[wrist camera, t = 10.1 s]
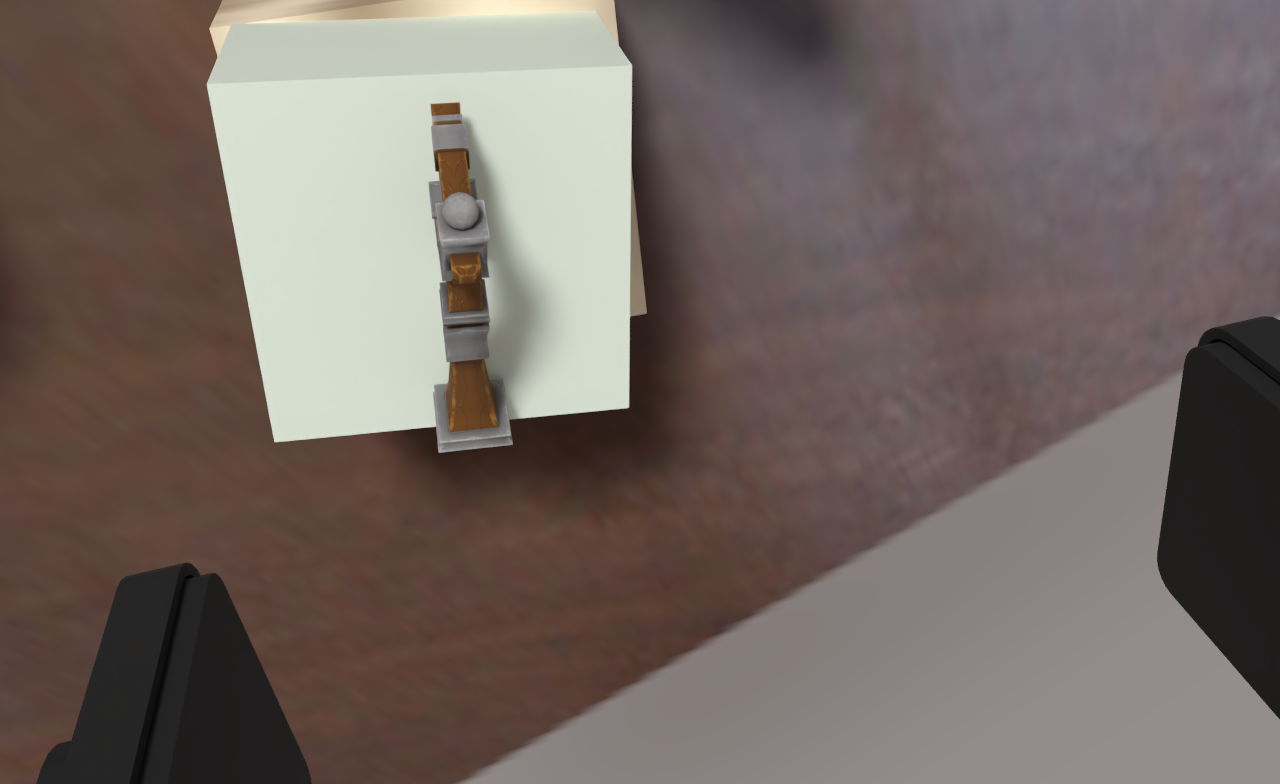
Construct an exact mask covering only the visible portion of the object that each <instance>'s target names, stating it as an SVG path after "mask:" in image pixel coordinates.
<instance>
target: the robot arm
mask: <svg viewBox="0 0 1280 784" xmlns="http://www.w3.org/2000/svg"><path fill="white" fill-rule="evenodd" d="M1157 562H1158V568H1159V572H1160V575H1161V578H1162V580H1163V582H1164V584H1165V586H1166V587H1167V589H1168V590H1169V592H1170V593H1171V594H1172V595H1173V596H1174V598H1175V599H1176V600H1177V601H1178V602H1179V604H1180V605H1181V606H1182V607H1183V608H1184V609H1185V610H1186V612H1187V613H1188V614H1189V615H1190V616H1191V617H1192V618H1193V620H1194V621H1195V622H1196V623H1197V624H1198V626H1199V627H1200V628H1201V629H1202V630H1203V631H1204V632H1205V634H1206V635H1207V636H1208V637H1209V638H1210V639H1211V640H1212V642H1213V643H1214V644H1215V645H1216V646H1217V647H1218V649H1219V650H1220V651H1221V652H1222V653H1223V654H1224V656H1225V657H1226V658H1227V659H1228V660H1229V661H1230V662H1231V663H1232V665H1233V666H1234V667H1235V668H1236V669H1237V671H1238V672H1239V673H1240V674H1241V675H1242V676H1243V678H1244V679H1245V680H1246V681H1247V682H1248V683H1249V684H1250V686H1251V687H1252V688H1253V689H1254V690H1255V691H1256V693H1257V694H1258V695H1259V696H1260V697H1261V698H1262V699H1263V701H1264V702H1265V703H1266V704H1267V705H1268V706H1269V708H1270V709H1271V710H1272V711H1273V712H1274V713H1275V714H1276V716H1277V717H1278V718H1279V719H1280V320H1278V319H1276V318H1274V317H1259V318H1254V319H1250V320H1246V321H1241V322H1237V323H1232V324H1228V325H1224V326H1219V327H1215V328H1211V329H1210V330H1208V331H1206V332H1205V333H1204V334H1203V335H1202V337H1201V338H1200V340H1199V344H1198V347H1195V348H1193V349H1191V350H1190V351H1189V353H1188V354H1187V356H1186V359H1185V363H1184V370H1183V377H1182V384H1181V391H1180V398H1179V405H1178V412H1177V419H1176V426H1175V433H1174V440H1173V447H1172V454H1171V461H1170V468H1169V475H1168V482H1167V489H1166V496H1165V503H1164V511H1163V518H1162V524H1161V531H1160V538H1159V546H1158V553H1157ZM36 784H312V783H311V777H310V773H309V770H308V767H307V764H306V761H305V759H304V757H303V755H302V753H301V750H300V748H299V746H298V744H297V742H296V740H295V737H294V735H293V733H292V731H291V729H290V727H289V724H288V722H287V720H286V718H285V716H284V713H283V711H282V709H281V707H280V705H279V703H278V700H277V698H276V696H275V694H274V692H273V689H272V687H271V685H270V683H269V681H268V679H267V676H266V674H265V672H264V670H263V668H262V666H261V663H260V661H259V659H258V657H257V655H256V652H255V650H254V648H253V646H252V644H251V642H250V639H249V637H248V635H247V633H246V631H245V628H244V626H243V624H242V622H241V620H240V618H239V615H238V613H237V611H236V609H235V607H234V605H233V602H232V600H231V598H230V596H229V594H228V591H227V589H226V587H225V585H224V583H223V581H222V580H221V578H220V577H219V576H218V575H217V574H215V573H211V574H206V575H202V576H200V574H199V572H198V570H197V569H196V568H195V567H194V566H193V565H192V564H190V563H183V564H178V565H174V566H170V567H165V568H161V569H156V570H152V571H148V572H143V573H139V574H135V575H130V576H126V577H125V578H123V579H122V580H121V581H120V583H119V585H118V588H117V590H116V594H115V597H114V600H113V604H112V607H111V610H110V614H109V617H108V620H107V624H106V627H105V630H104V634H103V637H102V640H101V644H100V647H99V650H98V654H97V657H96V661H95V664H94V667H93V671H92V674H91V677H90V681H89V684H88V687H87V691H86V694H85V697H84V701H83V704H82V707H81V711H80V714H79V717H78V721H77V724H76V727H75V731H74V734H73V737H72V741H68V742H64V743H60V744H57V745H56V746H55V747H54V748H53V749H52V750H51V751H50V752H49V753H48V755H47V757H46V759H45V762H44V764H43V766H42V768H41V771H40V774H39V777H38V780H37V783H36Z"/></svg>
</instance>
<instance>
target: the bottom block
mask: <svg viewBox="0 0 1280 784" xmlns="http://www.w3.org/2000/svg"><path fill="white" fill-rule="evenodd" d="M586 11H596V13H597V14H598V16H599V17H600V19H601V20H602V22H603V23H604V25H605V26H606V28H607V29H608V31H609V32H610V34H611V35H612V36H613V38H614V39H615V41H616V42H617V44H618V45H619V43H618V33H617V24H616V14H615V5H614V0H223V1H222V3H221V5H220V7H219V9H218V11H217V13H216V16H215V18H214V20H213V22H212V24H211V26H210V28H209V29H210V32H211V35H212V39H213V42H214V46H215V49H216V52H217V56H219V53H220V51H221V48H222V46H223V43H224V41H225V39H226V36H227V34H228V31H229V29H230V26H231V24H245V23H273V22H302V21H330V20H358V19H387V18H415V17H444V16H472V15H500V14H529V13H557V12H586ZM641 314H647V309H646V300H645V290H644V281H643V271H642V262H641V252H640V243H639V233H638V224H637V214H636V204H635V195H634V185H633V176H632V166H631V247H630V316H636V315H641Z"/></svg>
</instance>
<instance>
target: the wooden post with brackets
mask: <svg viewBox="0 0 1280 784" xmlns="http://www.w3.org/2000/svg"><path fill="white" fill-rule="evenodd" d="M431 115H432V126H431V133H432V145H433V154H434V163H435V171H436V172H438V173H439V181H430V182H428V185H429V195H430V204H431V213H432V219H434V223H435V232H436V241H437V247H438V252H439V260H440V268H441V275H442V281H446V282H440V289H439V293H440V302H441V311H442V320H443V334H444V343H445V352H446V361H447V362H450V363H449V379H448V383H446V384H436V385H434V392H433V400H434V410H435V420H436V430H437V440H438V450H439V453H440V452H449V451H459V450H468V449H477V448H487V447H496V446H505V445H513V442H512V435H511V428H510V420H509V413H508V406H507V399H506V392H505V386H504V383H503V378H497V379H489V377H488V373H487V368H486V364H485V359H488V358H490V357H489V349H488V342H487V335H488V333H489V330H490V327H489V322H490V318H489V308H488V301H487V293H486V286H485V279H482V278H490V277H489V271H488V264H487V244H488V241H489V238H490V236H489V230H488V223H487V217H486V211H485V204H484V200H478V196H477V189H476V182H475V179H469V173H468V170H470V162H469V145H468V138H467V131H466V124H463V120H462V114H461V112H460V102H456V103H438V104H431Z"/></svg>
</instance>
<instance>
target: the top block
mask: <svg viewBox="0 0 1280 784" xmlns="http://www.w3.org/2000/svg"><path fill="white" fill-rule="evenodd" d="M207 88H208V93H209V99H210V104H211V109H212V114H213V120H214V125H215V130H216V136H217V141H218V146H219V151H220V157H221V162H222V167H223V173H224V178H225V183H226V188H227V194H228V199H229V204H230V210H231V215H232V220H233V225H234V231H235V236H236V241H237V247H238V252H239V257H240V262H241V268H242V273H243V278H244V284H245V289H246V294H247V299H248V305H249V310H250V315H251V321H252V326H253V331H254V336H255V342H256V347H257V352H258V358H259V363H260V368H261V373H262V379H263V384H264V389H265V395H266V400H267V405H268V410H269V416H270V421H271V426H272V432H273V437H274V442H282V441H293V440H303V439H313V438H324V437H334V436H344V435H355V434H365V433H375V432H386V431H396V430H406V429H417V428H427V427H436V420H435V410H434V400H433V392H434V385H436V384H446V383H448V379H449V363H450V362H447V361H446V352H445V343H444V334H443V320H442V311H441V302H440V293H439V289H440V282H446V281H442V275H441V268H440V260H439V252H438V247H437V241H436V232H435V223H434V219H432V213H431V204H430V195H429V185H428V182H430V181H439V173H438V172H436V171H435V163H434V154H433V145H432V133H431V126H432V115H431V104H438V103H456V102H460V112H461V114H462V120H463V124H466V131H467V138H468V145H469V162H470V170H468V173H469V179H475V182H476V189H477V196H478V200H484V204H485V211H486V217H487V223H488V230H489V236H490V238H489V241H488V244H487V264H488V271H489V277H490V278H482V279H485V286H486V293H487V301H488V308H489V318H490V322H489V327H490V330H489V333H488V335H487V342H488V349H489V357H490V358H488V359H485V364H486V368H487V373H488V377H489V379H497V378H503V383H504V386H505V392H506V399H507V406H508V413H509V420H510V419H520V418H531V417H541V416H551V415H562V414H572V413H582V412H593V411H603V410H613V409H624V408H629V359H630V247H631V135H632V65H631V63H630V62H629V60H628V59H627V57H626V56H625V54H624V53H623V51H622V50H621V48H620V47H619V45H618V44H617V42H616V41H615V39H614V38H613V36H612V35H611V34H610V32H609V31H608V29H607V28H606V26H605V25H604V23H603V22H602V20H601V19H600V17H599V16H598V14H597V13H596V11H586V12H557V13H529V14H500V15H472V16H444V17H415V18H387V19H358V20H330V21H302V22H273V23H245V24H231V26H230V29H229V31H228V34H227V36H226V39H225V41H224V43H223V46H222V48H221V51H220V53H219V56H218V58H217V60H216V63H215V65H214V68H213V70H212V73H211V75H210V77H209V80H208V82H207Z"/></svg>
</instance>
